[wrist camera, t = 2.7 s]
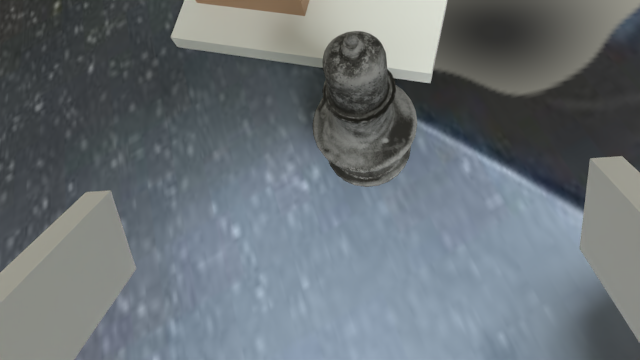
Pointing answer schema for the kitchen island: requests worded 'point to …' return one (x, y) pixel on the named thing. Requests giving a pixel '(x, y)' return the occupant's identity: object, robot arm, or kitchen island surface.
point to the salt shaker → (363, 112)
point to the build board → (314, 30)
